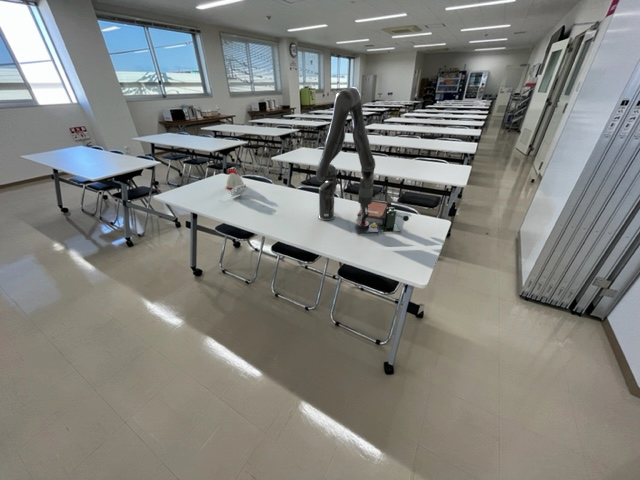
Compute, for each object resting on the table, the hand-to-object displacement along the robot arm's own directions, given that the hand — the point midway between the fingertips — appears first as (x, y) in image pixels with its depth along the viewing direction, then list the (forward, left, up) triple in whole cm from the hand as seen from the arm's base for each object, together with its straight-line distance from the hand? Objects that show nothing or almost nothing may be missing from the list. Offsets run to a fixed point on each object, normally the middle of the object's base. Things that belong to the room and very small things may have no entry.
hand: (363, 223), depth 152 cm
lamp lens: (+4, +5, 0) cm, 7 cm away
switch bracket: (+1, +15, -4) cm, 16 cm away
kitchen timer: (-79, -91, -4) cm, 121 cm away
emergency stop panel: (+2, +2, -4) cm, 5 cm away
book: (-19, +11, -4) cm, 23 cm away
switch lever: (+1, +19, +3) cm, 19 cm away
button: (0, 0, -2) cm, 2 cm away
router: (-49, -96, -4) cm, 107 cm away
